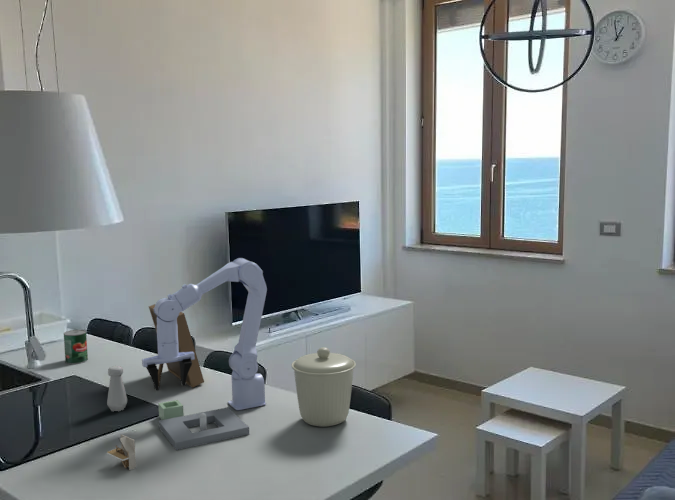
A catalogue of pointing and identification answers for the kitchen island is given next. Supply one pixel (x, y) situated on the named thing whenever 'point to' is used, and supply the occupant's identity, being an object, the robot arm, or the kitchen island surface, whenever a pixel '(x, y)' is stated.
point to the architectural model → (125, 452)
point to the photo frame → (183, 346)
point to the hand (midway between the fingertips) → (169, 387)
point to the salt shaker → (116, 389)
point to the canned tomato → (75, 346)
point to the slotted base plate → (203, 428)
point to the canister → (323, 387)
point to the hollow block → (170, 409)
